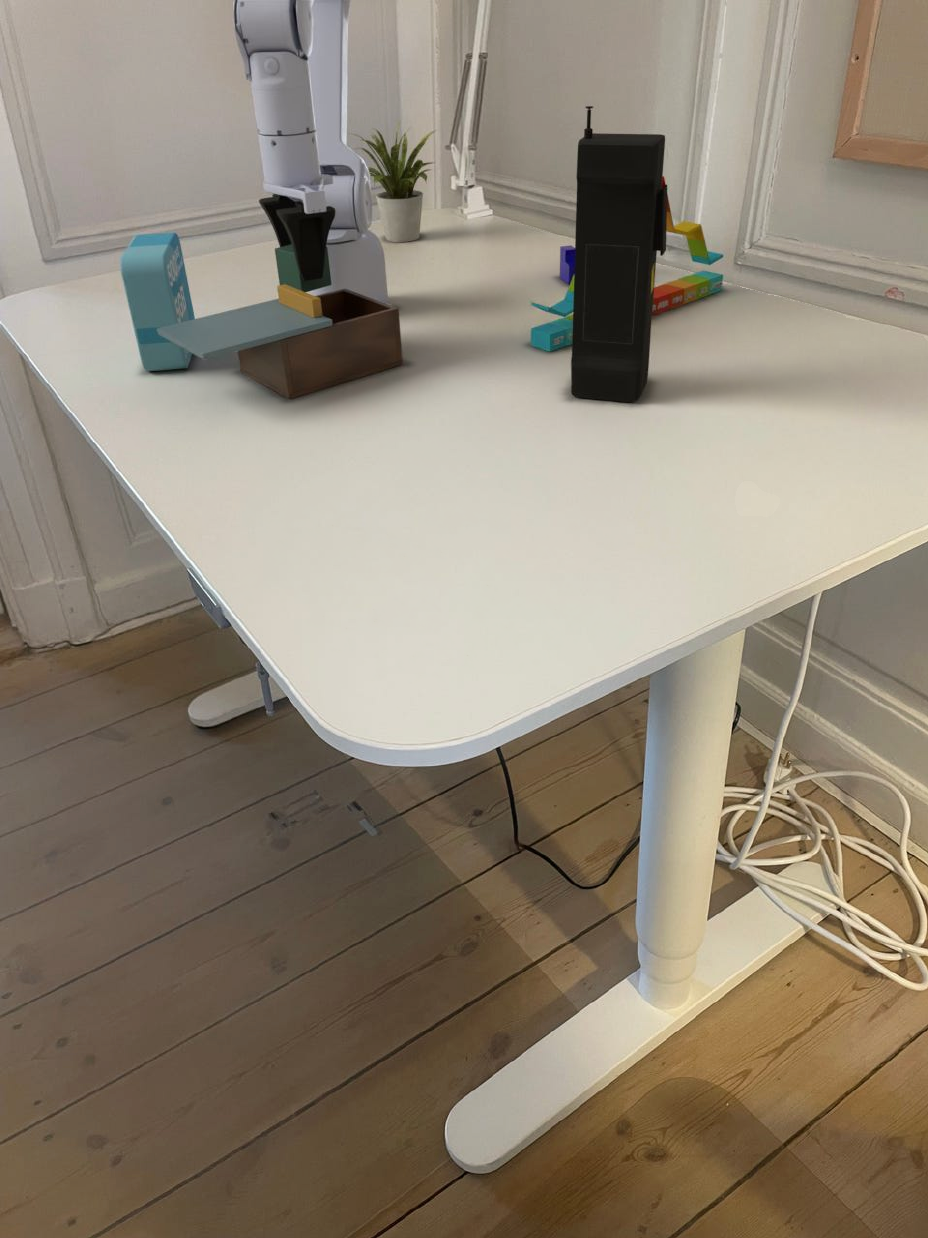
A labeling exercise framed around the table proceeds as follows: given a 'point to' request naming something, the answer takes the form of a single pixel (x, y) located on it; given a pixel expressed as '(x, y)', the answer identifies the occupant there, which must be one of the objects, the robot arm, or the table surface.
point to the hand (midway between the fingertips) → (304, 272)
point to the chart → (664, 295)
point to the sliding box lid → (249, 325)
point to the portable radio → (616, 261)
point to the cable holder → (567, 263)
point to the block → (292, 275)
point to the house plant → (398, 188)
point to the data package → (157, 297)
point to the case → (329, 347)
